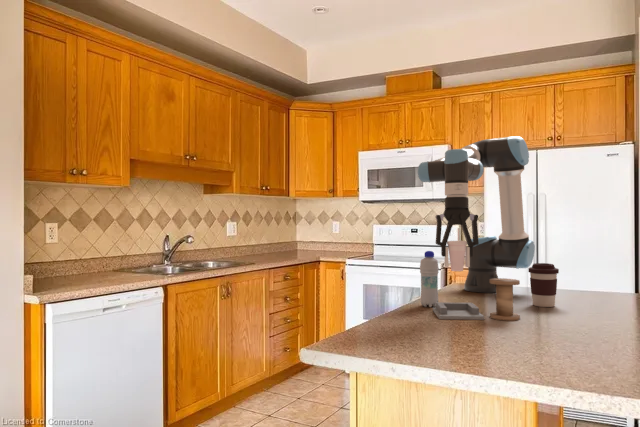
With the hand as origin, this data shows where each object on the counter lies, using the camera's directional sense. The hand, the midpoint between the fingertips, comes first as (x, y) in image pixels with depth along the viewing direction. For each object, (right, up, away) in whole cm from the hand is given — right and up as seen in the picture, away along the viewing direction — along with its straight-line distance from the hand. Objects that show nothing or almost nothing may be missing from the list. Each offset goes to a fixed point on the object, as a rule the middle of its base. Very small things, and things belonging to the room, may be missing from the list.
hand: (457, 266), depth 161 cm
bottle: (-6, -16, +16) cm, 23 cm away
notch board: (0, -16, 0) cm, 16 cm away
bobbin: (+14, -16, -5) cm, 22 cm away
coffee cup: (+35, -16, +15) cm, 42 cm away
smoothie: (0, -2, 0) cm, 2 cm away
